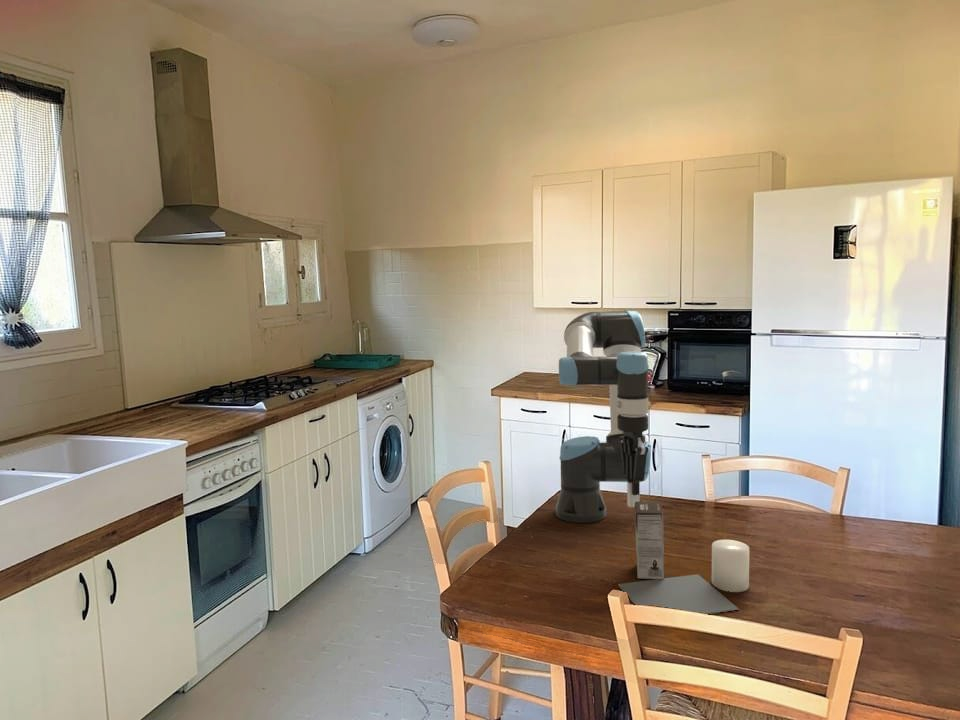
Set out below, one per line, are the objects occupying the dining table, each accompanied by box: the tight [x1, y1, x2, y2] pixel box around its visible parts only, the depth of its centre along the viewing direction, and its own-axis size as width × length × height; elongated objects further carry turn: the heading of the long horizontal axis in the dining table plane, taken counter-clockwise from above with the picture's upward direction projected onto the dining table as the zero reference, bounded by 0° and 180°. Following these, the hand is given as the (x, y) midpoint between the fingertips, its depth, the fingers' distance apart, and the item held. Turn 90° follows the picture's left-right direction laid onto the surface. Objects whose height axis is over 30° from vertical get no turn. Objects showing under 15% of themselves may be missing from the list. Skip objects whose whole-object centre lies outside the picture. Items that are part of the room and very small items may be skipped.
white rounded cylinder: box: [711, 539, 750, 593], centre depth 149 cm, size 8×8×9 cm
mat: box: [617, 573, 739, 615], centre depth 144 cm, size 17×20×1 cm
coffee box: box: [634, 501, 665, 580], centre depth 156 cm, size 9×6×16 cm
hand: (633, 505), depth 164 cm, fingers closed
